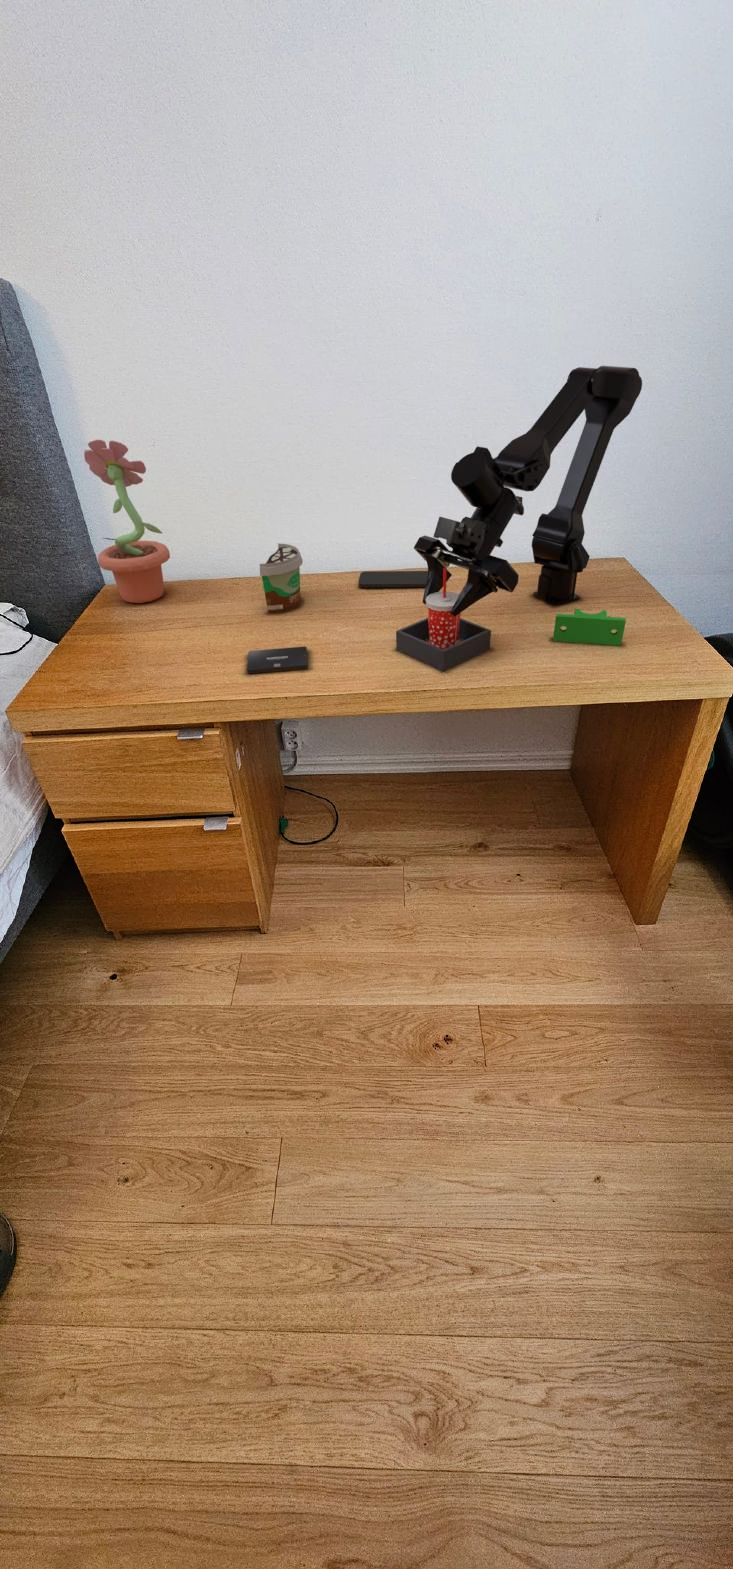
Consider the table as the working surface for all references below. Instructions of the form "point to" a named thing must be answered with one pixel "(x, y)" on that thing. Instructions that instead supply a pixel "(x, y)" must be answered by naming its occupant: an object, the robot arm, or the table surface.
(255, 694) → the table surface
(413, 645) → the box
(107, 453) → the decorative flower
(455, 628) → the beverage cup
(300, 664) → the solid state drive
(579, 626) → the pipe clamp
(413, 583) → the phone
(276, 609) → the food container
